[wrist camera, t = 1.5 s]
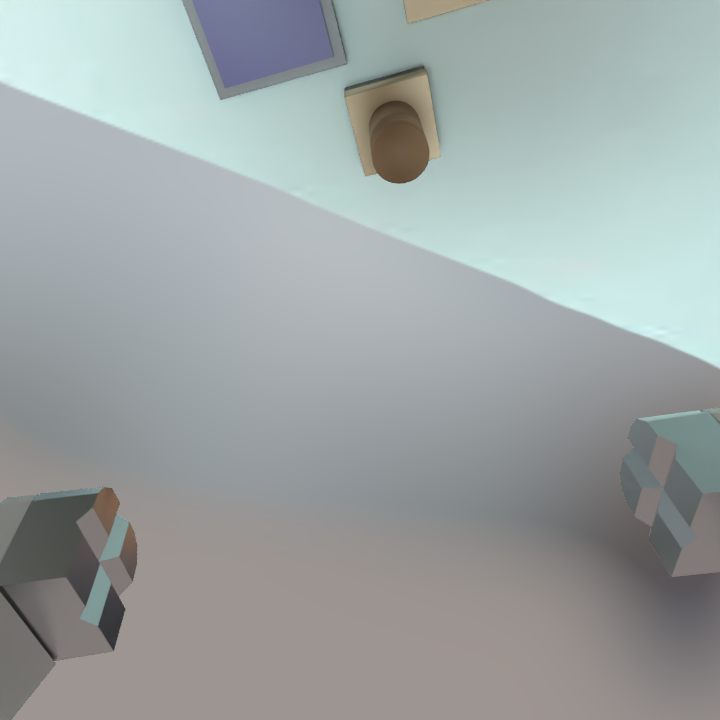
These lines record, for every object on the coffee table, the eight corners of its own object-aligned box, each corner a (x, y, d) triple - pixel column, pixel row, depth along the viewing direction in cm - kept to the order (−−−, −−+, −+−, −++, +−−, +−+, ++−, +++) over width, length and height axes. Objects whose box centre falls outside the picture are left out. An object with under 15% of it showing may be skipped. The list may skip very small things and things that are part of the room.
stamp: (423, 65, 35) (437, 96, 30) (436, 145, 38) (452, 186, 33) (344, 87, 36) (344, 121, 30) (364, 164, 39) (367, 207, 33)
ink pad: (306, -105, 30) (305, -105, 29) (346, 60, 35) (346, 65, 34) (164, -58, 31) (159, -56, 30) (223, 95, 36) (219, 101, 35)
